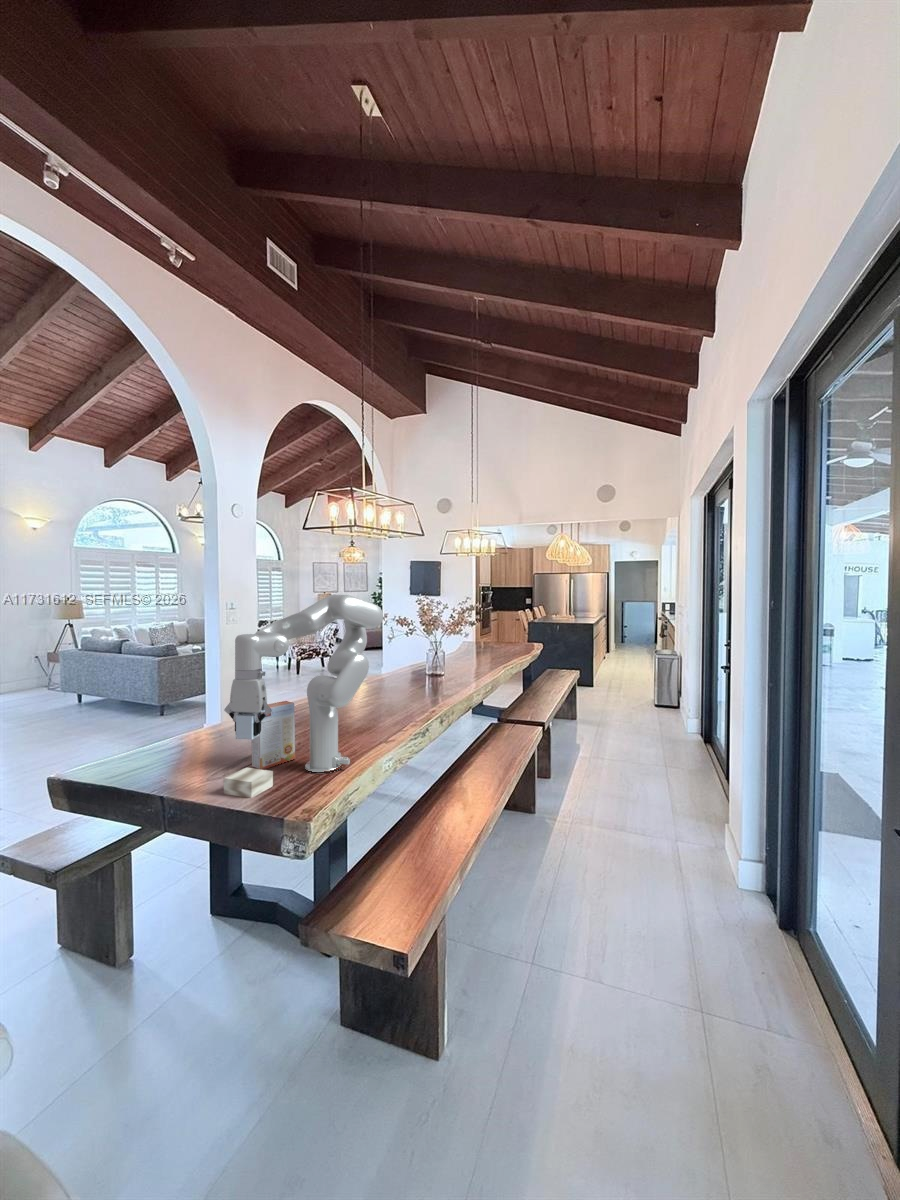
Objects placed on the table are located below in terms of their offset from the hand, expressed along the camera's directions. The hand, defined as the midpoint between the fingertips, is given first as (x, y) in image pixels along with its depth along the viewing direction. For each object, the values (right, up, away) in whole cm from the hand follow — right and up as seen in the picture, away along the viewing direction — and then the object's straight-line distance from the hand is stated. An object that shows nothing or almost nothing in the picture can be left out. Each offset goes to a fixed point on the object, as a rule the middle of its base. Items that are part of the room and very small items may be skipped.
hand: (247, 733), depth 163 cm
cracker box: (0, -17, +25) cm, 30 cm away
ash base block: (0, -18, +1) cm, 18 cm away
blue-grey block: (0, -1, 0) cm, 1 cm away
